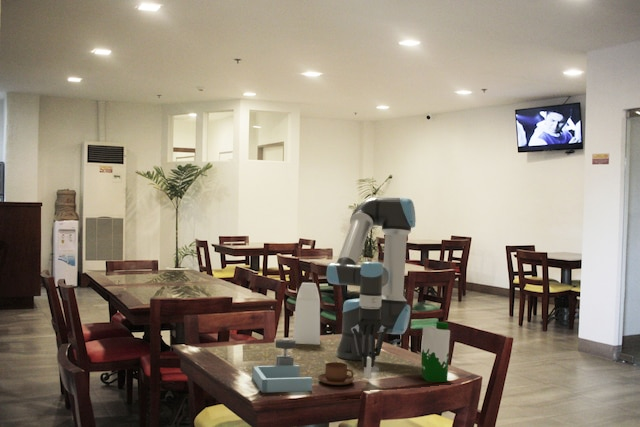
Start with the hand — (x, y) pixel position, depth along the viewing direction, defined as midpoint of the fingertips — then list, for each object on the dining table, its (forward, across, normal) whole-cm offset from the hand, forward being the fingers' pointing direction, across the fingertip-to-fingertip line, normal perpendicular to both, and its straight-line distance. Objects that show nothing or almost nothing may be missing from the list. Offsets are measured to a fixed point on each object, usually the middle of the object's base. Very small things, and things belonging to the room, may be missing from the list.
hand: (367, 376), depth 215 cm
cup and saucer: (+2, -11, 0) cm, 11 cm away
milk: (+2, -3, +70) cm, 70 cm away
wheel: (-5, -26, +13) cm, 29 cm away
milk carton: (+2, +25, 0) cm, 25 cm away
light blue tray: (+2, -30, +3) cm, 30 cm away
